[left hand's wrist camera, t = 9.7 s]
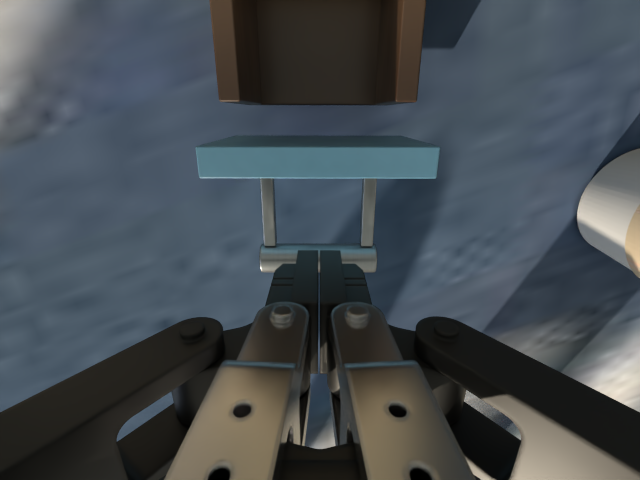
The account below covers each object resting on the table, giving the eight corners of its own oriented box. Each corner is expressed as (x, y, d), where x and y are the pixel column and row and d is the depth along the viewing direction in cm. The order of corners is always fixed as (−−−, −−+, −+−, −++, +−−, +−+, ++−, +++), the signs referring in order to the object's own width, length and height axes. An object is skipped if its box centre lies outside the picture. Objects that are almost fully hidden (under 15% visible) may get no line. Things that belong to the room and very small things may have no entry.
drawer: (392, 247, 21) (421, 301, 15) (244, 247, 21) (214, 301, 15) (442, -359, 13) (557, -799, 6) (194, -360, 13) (77, -801, 6)
